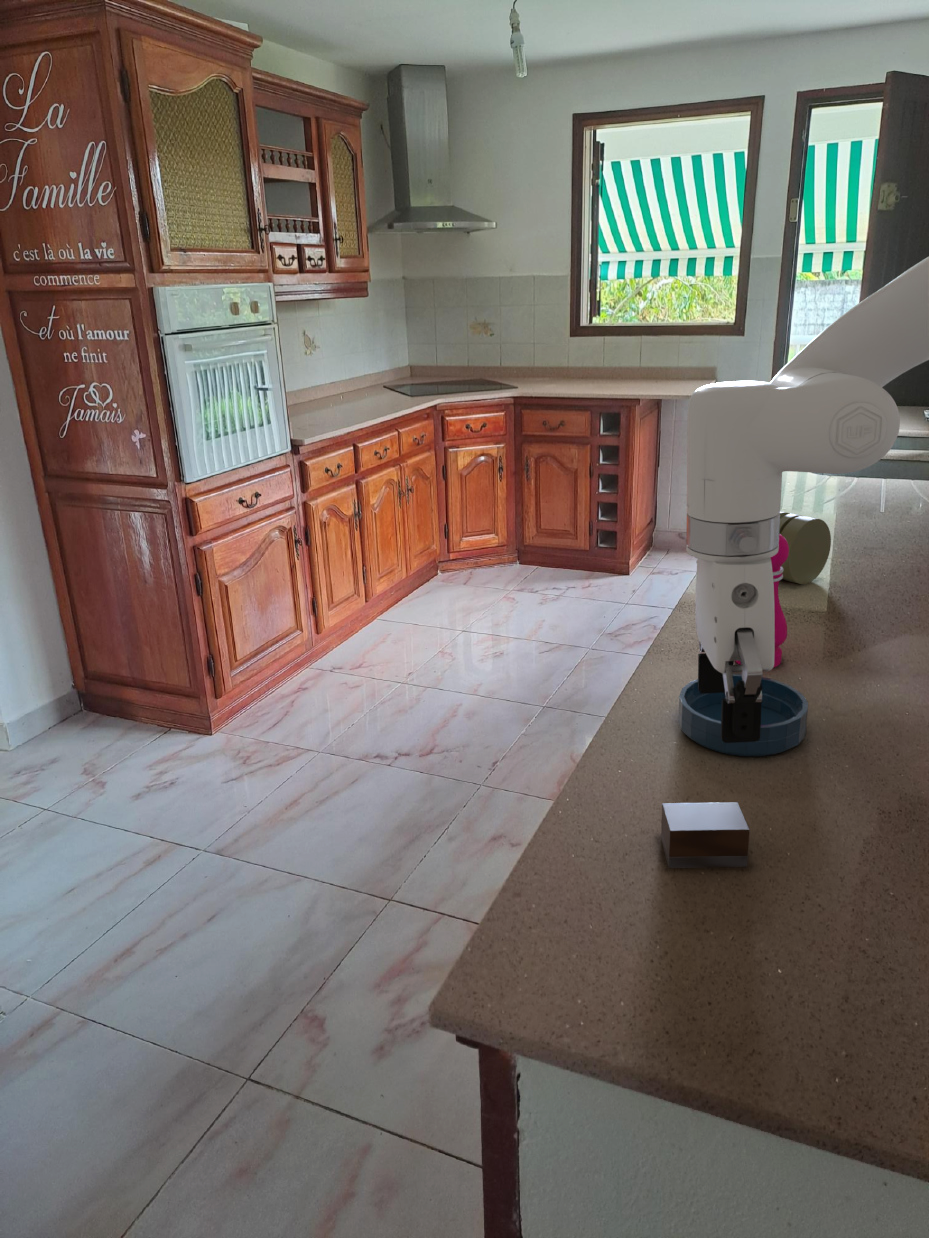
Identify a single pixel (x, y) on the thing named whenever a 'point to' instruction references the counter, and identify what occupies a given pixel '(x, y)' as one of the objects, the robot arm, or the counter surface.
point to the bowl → (778, 719)
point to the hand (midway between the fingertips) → (726, 714)
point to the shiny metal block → (704, 835)
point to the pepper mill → (779, 616)
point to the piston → (804, 547)
